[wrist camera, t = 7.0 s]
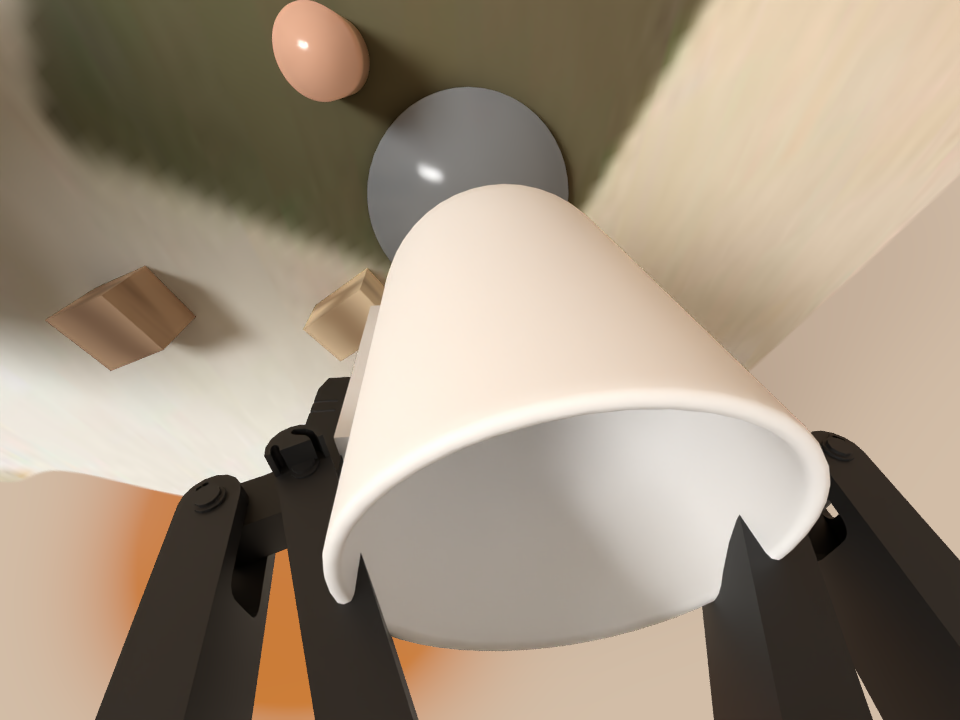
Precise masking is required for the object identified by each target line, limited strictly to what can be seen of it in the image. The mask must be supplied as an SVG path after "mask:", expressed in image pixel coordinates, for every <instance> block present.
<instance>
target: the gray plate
mask: <svg viewBox="0 0 960 720" xmlns="http://www.w3.org/2000/svg"><path fill="white" fill-rule="evenodd" d="M496 184H515V185H524V186H528V187H533V188H538V189H541V190H544V191H546V192H549V193H552V194H554V195H556V196H558V197H560V198H562V199H564V200H565V201H567V202H568V178H567V173H566V167H565V163H564V160H563V157H562V154H561V151H560V149H559V147H558V145H557V143H556V141H555V139H554V137H553V136H552V134H551V132H550V131H549V129H548V128H547V126H546V125H545V124H544V123H543V122H542V121H541V120H540V118H539V117H538V116H537V115H536V114H535V113H533V112H532V111H531V110H530V109H529V108H528V107H526V106H525V105H523V104H522V103H520V102H519V101H517V100H515V99H514V98H512V97H509V96H507V95H505V94H502V93H500V92H497V91H494V90H489V89H485V88H479V87H457V88H450V89H446V90H442V91H438V92H435V93H433V94H431V95H428V96H426V97H424V98H422V99H420V100H419V101H417V102H416V103H414V104H413V105H411V106H410V107H409V108H407V109H406V110H405V111H404V112H403V113H402V114H401V115H399V116H398V118H397V119H396V120H395V121H394V122H393V124H392V125H391V126H390V127H389V128H388V130H387V131H386V133H385V135H384V136H383V138H382V139H381V141H380V143H379V145H378V147H377V150H376V152H375V154H374V157H373V160H372V164H371V167H370V171H369V178H368V187H367V201H368V210H369V215H370V220H371V224H372V227H373V230H374V233H375V235H376V238H377V240H378V242H379V244H380V246H381V248H382V249H383V251H384V252H385V254H386V255H387V257H388V258H389V260H390V261H391V262H392V261H393V259H394V256H395V254H396V252H397V250H398V248H399V247H400V245H401V243H402V241H403V239H404V238H405V237H406V235H407V234H408V233H409V232H410V230H411V229H412V228H413V226H414V225H415V224H416V223H417V222H418V221H419V220H420V219H421V218H422V217H423V216H424V215H425V214H426V213H427V212H429V211H430V210H431V209H433V208H434V207H435V206H437V205H438V204H439V203H441V202H443V201H445V200H447V199H448V198H450V197H452V196H454V195H456V194H459V193H461V192H464V191H467V190H469V189H473V188H477V187H482V186H486V185H496Z"/></svg>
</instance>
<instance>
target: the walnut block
mask: <svg viewBox="0 0 960 720" xmlns="http://www.w3.org/2000/svg"><path fill="white" fill-rule="evenodd" d="M195 317H196V316H195V315H194V314H193V313H192V312H191V311H190V310H189V309H188V308H187V307H186V306H185V305H184V304H183V303H182V302H181V301H180V300H179V299H178V298H177V297H176V296H175V295H174V294H173V293H172V292H171V291H170V290H169V289H168V288H167V287H166V286H165V285H164V284H163V283H162V282H161V281H160V280H159V279H158V278H157V277H156V276H155V275H154V274H153V273H152V272H151V271H150V270H149V269H148V268H147V267H146V266H144V267H142V268H139V269H137V270H135V271H133V272H130V273H128V274H126V275H123V276H121V277H119V278H117V279H114V280H112V281H110V282H108V283H105V284H103V285H101V286H99V287H96V288H94V289H93V290H91V291H90V292H88V293H87V294H85V295H83V296H82V297H80V298H79V299H77V300H76V301H74V302H72V303H71V304H69V305H68V306H66V307H65V308H63V309H62V310H60V311H58V312H57V313H55V314H54V315H52V316H51V317H49V318H47V319H46V320H45V321H47V322H48V323H49V324H50V325H52V326H53V327H54V328H56V329H57V330H58V331H60V332H61V333H62V334H63V335H65V336H66V337H67V338H69V339H70V340H71V341H73V342H74V343H75V344H76V345H78V346H79V347H80V348H82V349H83V350H84V351H86V352H87V353H88V354H90V355H91V356H92V357H93V358H95V359H96V360H97V361H99V362H100V363H101V364H103V365H104V366H105V367H106V368H108V369H109V370H110V371H112V370H114V369H117V368H119V367H122V366H124V365H127V364H129V363H132V362H134V361H137V360H139V359H142V358H144V357H147V356H149V355H152V354H154V353H157V352H159V351H162V350H164V349H165V348H166V347H167V346H168V345H169V344H170V343H171V341H172V340H173V339H174V338H175V337H176V336H177V335H178V334H179V333H180V332H181V331H182V330H183V329H184V328H185V327H186V326H187V325H188V324H189V323H190V322H191V321H192V320H193V319H194V318H195Z"/></svg>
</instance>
